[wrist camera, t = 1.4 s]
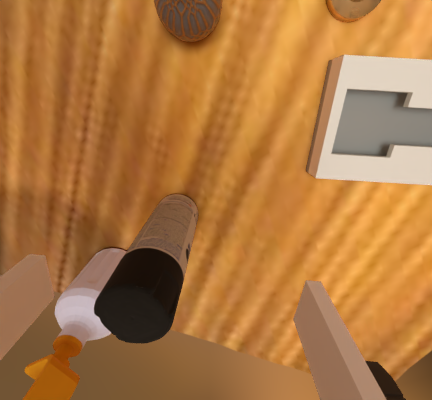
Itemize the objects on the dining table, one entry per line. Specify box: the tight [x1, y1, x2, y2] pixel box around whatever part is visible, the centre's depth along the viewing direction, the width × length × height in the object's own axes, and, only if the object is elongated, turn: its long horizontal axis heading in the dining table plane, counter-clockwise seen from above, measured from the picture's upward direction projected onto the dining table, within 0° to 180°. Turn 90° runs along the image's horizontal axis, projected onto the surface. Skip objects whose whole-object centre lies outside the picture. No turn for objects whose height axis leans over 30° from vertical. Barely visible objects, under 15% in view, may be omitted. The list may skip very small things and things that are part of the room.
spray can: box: [94, 194, 198, 343], centre depth 28 cm, size 7×7×20 cm
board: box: [306, 55, 432, 185], centre depth 29 cm, size 14×22×4 cm, turn 87°
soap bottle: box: [23, 248, 127, 400], centre depth 30 cm, size 9×9×25 cm
